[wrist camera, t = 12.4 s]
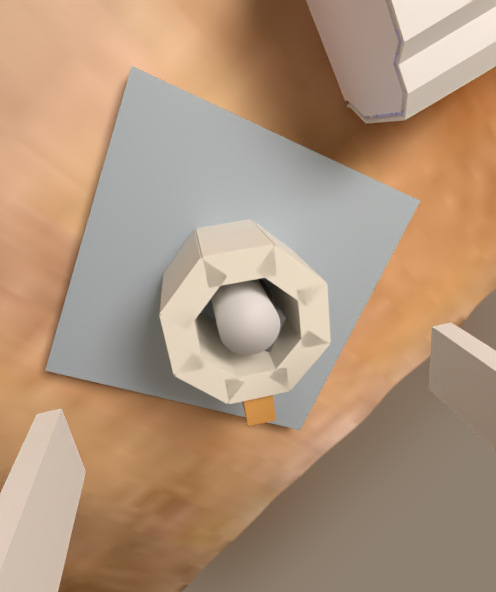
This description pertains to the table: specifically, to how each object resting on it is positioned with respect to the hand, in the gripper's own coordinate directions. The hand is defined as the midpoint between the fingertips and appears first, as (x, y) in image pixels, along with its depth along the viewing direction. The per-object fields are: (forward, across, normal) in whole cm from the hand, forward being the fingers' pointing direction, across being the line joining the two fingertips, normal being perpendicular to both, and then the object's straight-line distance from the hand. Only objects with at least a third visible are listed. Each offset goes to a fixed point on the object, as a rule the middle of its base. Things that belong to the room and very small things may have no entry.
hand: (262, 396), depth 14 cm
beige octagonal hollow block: (+11, +1, -1) cm, 12 cm away
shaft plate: (+13, +1, 0) cm, 13 cm away
